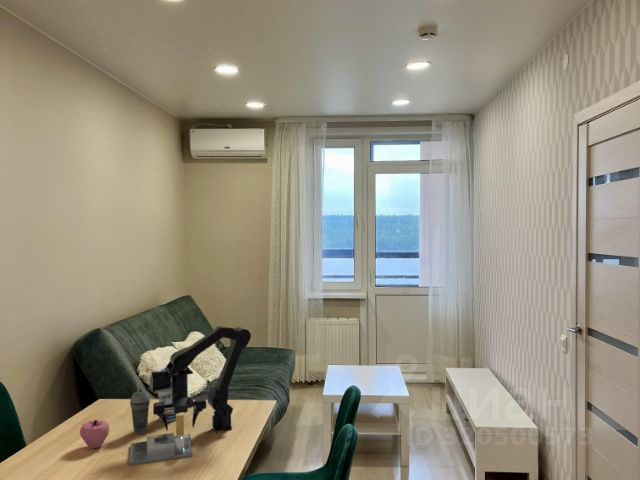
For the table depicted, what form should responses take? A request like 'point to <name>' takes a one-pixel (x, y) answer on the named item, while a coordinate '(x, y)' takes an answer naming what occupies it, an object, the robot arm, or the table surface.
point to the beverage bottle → (167, 401)
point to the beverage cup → (140, 410)
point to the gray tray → (160, 448)
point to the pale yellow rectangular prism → (179, 424)
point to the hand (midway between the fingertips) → (180, 428)
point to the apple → (94, 432)
